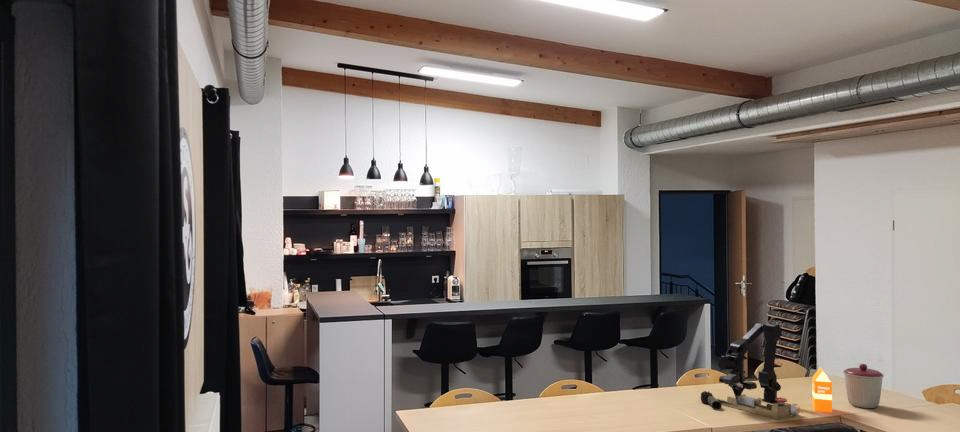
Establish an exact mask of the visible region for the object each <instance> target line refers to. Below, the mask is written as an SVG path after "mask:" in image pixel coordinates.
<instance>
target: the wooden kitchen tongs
mask: <svg viewBox="0 0 960 432" xmlns="http://www.w3.org/2000/svg"><path fill="white" fill-rule="evenodd" d="M716 399H717V400H718V401H719V402H720V403H721V405H722V406H726V407H728V408H729V407H730V408H732V407H733V409H736V408H737V410H740V409H741V411H743V410H744V412H747V411H748V413H750V412H752V413H751V414H754V413H755V415H758V414H759V415H758V416H761V415H762V417H765V416H766V417H765V418H769V419H772V420H777V421H779V420H783V419H787V418H791V417H792V416H797V415H799V414H800V413H801V407H800V405H798V404H797V403H789V402H788V399H787V398H785V397H777V398H776V401H778V402H777V404H773V403H766V405H763V404H761V407H759V406H756V407H755V408H751V407H747V406H743V405H740V404H736V397H733V396H727V399H725V400H724V399H722V398H721V399H720V398H716Z"/></svg>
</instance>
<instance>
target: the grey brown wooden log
mask: <svg viewBox="0 0 960 432" xmlns="http://www.w3.org/2000/svg"><path fill="white" fill-rule="evenodd" d="M717 399H718V398H716V397H715V396H714V395H713V394H712V392H710V391H706V390H704V391H702V392H701V393H700V402H701V403H702V404H705V405H706V404H707V405H710V406H711V407H712V408H713V409H714V410H720V409H721V408H722V406H723V405H722V404H721V403H720V402H719V401H718V400H717Z"/></svg>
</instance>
